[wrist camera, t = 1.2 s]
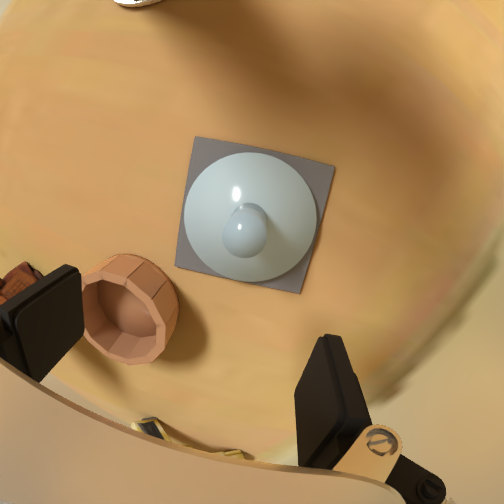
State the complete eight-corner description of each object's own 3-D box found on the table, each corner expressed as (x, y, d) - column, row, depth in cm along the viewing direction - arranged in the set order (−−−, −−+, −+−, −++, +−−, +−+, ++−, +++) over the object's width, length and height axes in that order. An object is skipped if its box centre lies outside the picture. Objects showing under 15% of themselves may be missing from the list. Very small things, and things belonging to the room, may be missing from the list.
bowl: (94, 244, 31) (68, 260, 25) (184, 266, 31) (168, 288, 26) (97, 323, 35) (78, 345, 29) (175, 348, 35) (163, 376, 30)
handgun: (131, 416, 38) (149, 479, 29) (224, 413, 49) (249, 463, 40) (129, 422, 39) (146, 482, 30) (219, 418, 50) (243, 467, 41)
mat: (195, 136, 26) (195, 136, 26) (333, 166, 26) (334, 166, 26) (175, 264, 31) (174, 266, 30) (298, 291, 31) (299, 293, 31)
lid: (198, 141, 26) (176, 137, 19) (328, 170, 26) (348, 174, 20) (179, 263, 30) (156, 291, 24) (296, 288, 30) (302, 324, 24)
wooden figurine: (73, 302, 34) (-5, 378, 17) (63, 327, 36) (-3, 399, 19) (23, 252, 32) (-61, 303, 15) (16, 280, 34) (-56, 333, 17)
